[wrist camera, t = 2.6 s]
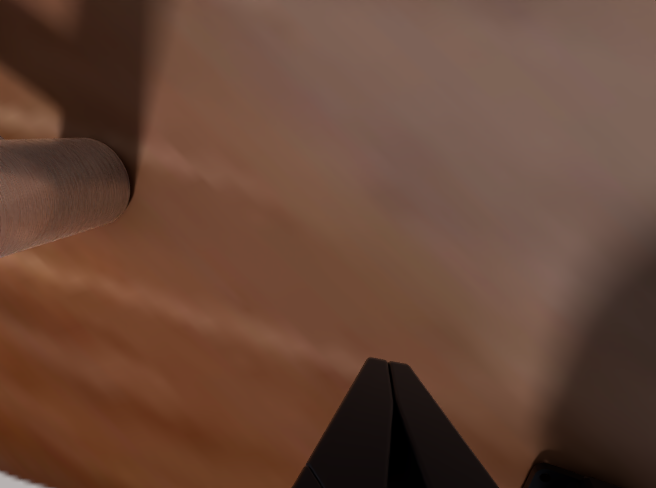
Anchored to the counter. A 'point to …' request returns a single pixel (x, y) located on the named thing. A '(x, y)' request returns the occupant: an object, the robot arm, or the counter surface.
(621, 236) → the counter surface
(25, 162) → the silver jar
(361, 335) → the counter surface
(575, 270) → the counter surface
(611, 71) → the counter surface
